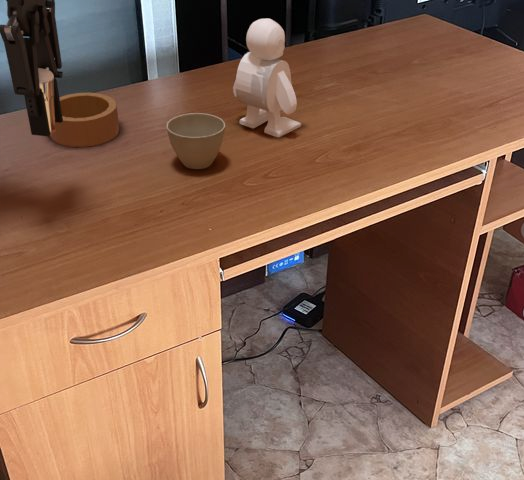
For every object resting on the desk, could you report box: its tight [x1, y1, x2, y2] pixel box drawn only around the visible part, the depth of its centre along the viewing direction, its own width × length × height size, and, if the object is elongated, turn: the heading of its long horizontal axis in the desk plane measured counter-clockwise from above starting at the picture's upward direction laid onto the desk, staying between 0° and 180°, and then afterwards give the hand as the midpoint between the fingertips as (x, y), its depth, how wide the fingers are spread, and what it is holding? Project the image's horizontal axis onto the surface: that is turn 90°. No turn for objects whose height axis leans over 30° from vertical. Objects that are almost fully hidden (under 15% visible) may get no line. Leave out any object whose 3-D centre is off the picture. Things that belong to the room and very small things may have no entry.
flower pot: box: [165, 112, 226, 170], centre depth 136 cm, size 10×10×7 cm
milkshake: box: [38, 67, 56, 133], centre depth 117 cm, size 4×5×10 cm
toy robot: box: [232, 18, 302, 138], centre depth 143 cm, size 14×9×20 cm, turn 51°
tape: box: [49, 92, 120, 148], centre depth 146 cm, size 13×13×5 cm
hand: (47, 127), depth 119 cm, fingers closed on milkshake, 4 cm apart
